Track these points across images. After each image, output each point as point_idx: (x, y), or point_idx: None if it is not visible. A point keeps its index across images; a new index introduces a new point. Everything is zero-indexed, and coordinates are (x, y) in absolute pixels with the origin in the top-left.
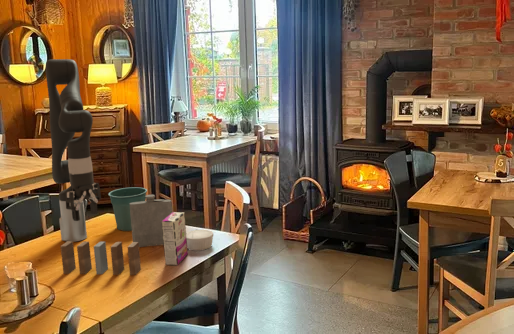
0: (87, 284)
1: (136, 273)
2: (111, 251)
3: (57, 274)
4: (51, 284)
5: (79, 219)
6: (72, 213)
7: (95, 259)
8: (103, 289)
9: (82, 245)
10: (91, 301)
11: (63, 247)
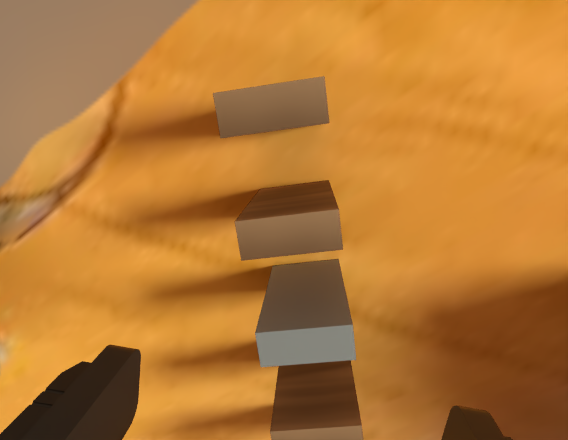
0: (169, 285)
1: None
2: (273, 413)
3: (233, 77)
4: (127, 128)
5: (123, 425)
6: (9, 435)
7: (265, 298)
8: (146, 367)
9: (258, 250)
10: (51, 375)
11: (219, 117)
